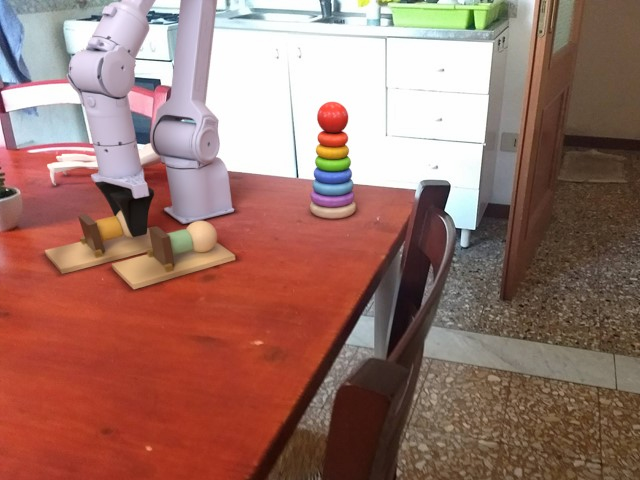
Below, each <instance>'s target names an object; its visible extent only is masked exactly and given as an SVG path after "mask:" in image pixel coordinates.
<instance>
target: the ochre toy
mask: <svg viewBox="0 0 640 480" xmlns="http://www.w3.org/2000/svg"><path fill="white" fill-rule="evenodd" d="M77 218H78V220H79V222H80V227H81V231H82V233H83V237H85V240H86V243H87V245H88V246H89V247H90V248H91V249H92V250H93V251H95V250H99V249H100V250H101V251H102V252H105V250H104V246H103V243H102V242H104V241H108V240H111V239H115V238H118V237H121V236H123V235H124V236H126V237H132V235H131V234H130V232H129V230H128V227H127V224H126V222H125V219H124V216H123V214H122V212H121V210H120V211H119V212H118V213H117V215H116V216H114V215H112V216H108V217H104V218H100V219H97V220H94V219H93V218H92V217H91V216H89V215H88V214H87V213H83V214H79V215H77ZM137 237H138V236H137Z"/></svg>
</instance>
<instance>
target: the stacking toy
mask: <svg viewBox="0 0 640 480" xmlns="http://www.w3.org/2000/svg"><path fill="white" fill-rule="evenodd" d="M316 120H317V124H318V126H319V128H320V129H321V130H322V131H320V132H319V133H318V134H317V142H318V143H319V144H318V145H317V146H316V147H315V153H316V155H317V156H316V157H315V160H314V163H315V166H316V167H315V168H314V169H313V177H314V179H313V181H312V191H311V192H310V200H311V202H310V204H309V210H310V212H311V213H312V214H313V215H315V216H317V217H319V218H323V219H329V220H331V219H333V220H334V219H335V220H337V219H343V218H347V217H349V216H352V215H353V214H354V213H355V212H356V210H357V204H356V202H355V201H354V199H355V192H354V191H353V189H354V186H355V185H354V182H353V179H351V178H352V177H353V172H352V170H351V168H350V167H351V165H352V161H351V158H350V157H349V156H348V155H349V154H350V149H349V147H348V145H346V144H348V141H349V135H348V134H347V132H345V131H344V130H345V129H346V127H347V126H348V123H349V113H348V110H347V109H346V107H345V106H344V105H343V104H342V103H340V102H337V101H327V102H325V103H323V104H322V105H321V106H320V107H319V109H318V111H317V116H316Z"/></svg>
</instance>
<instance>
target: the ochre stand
mask: <svg viewBox="0 0 640 480" xmlns="http://www.w3.org/2000/svg"><path fill="white" fill-rule="evenodd" d="M102 243H103V246H104V250H105V252H102V251H101V250H100V249H99V250H95V251H93V250H92V249H91V248H90V247H89V246H88V245H87V243H86V240H85V237H84V236H81V237H79V241H78V242H73V243H69V244H65V245H61V246H57V247H52V248H47V249H45V250H44V253H45V256H46V257H47V259H49V260H50V261H51V263H52V264H53V265H54V266H55V267H56V269H57V270H58V271H59V272H60V273H61V274H62V275H64V274H68V273H72V272H76V271H80V270H84V269H87V268H91V267H96V266H99V265H103V264H106V263H111V262H114V261H117V260H122V259H125V258H129V257H133V256H137V255H141V254H145V253H147V250H151V249H152V244H151V238H150V233H149V227H147V234H145V235H141V236H138V237H126V236H124V235H123V236H121V237H118V238H115V239H111V240H108V241H104V242H102Z"/></svg>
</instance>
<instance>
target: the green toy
mask: <svg viewBox="0 0 640 480" xmlns="http://www.w3.org/2000/svg"><path fill="white" fill-rule="evenodd" d="M148 228H149V233H150V238H151V244H152V249H153V255H154V257H155V258H156V259H157V260H158V261H159V262H160V263H162V264H163V265H165V264H169V263H171V264H172V266H175V264H174V258H173V255H177V254H181V253H184V252H188V251H191V250H194V251H196V252H206V251H209V250H211V249H212V248H213V247H214V246H215V244H216V242H217V243H218V232H217V230H216V228H215V226H214V225H213V224H211V223H210V222H208V221H205V220H199V221H194V222H190V223H189V225H188V226H186V229H185V228H183V229H179V230H175V231H172V232H168V233H167V232H166V231H164V230H163V229H162V228H160V227H159V226H158V225H154V226H150V227H148Z"/></svg>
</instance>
